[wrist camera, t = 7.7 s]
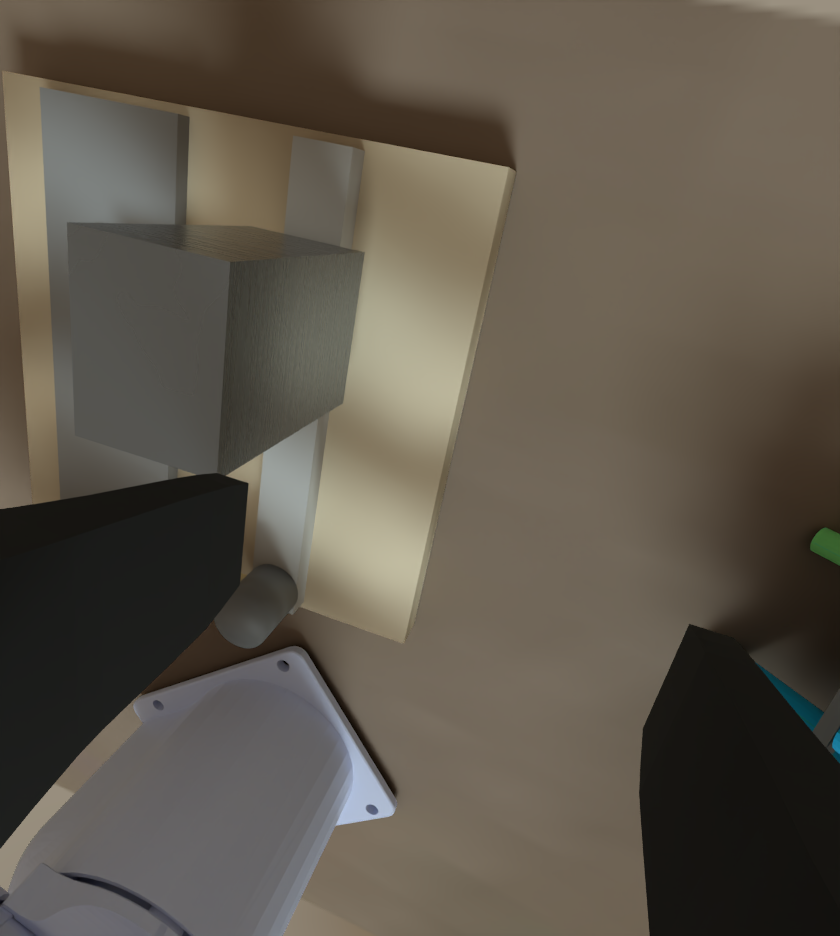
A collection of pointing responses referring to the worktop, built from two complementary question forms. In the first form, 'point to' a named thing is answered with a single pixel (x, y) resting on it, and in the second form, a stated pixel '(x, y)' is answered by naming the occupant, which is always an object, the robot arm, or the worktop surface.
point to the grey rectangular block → (206, 338)
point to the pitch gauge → (373, 344)
